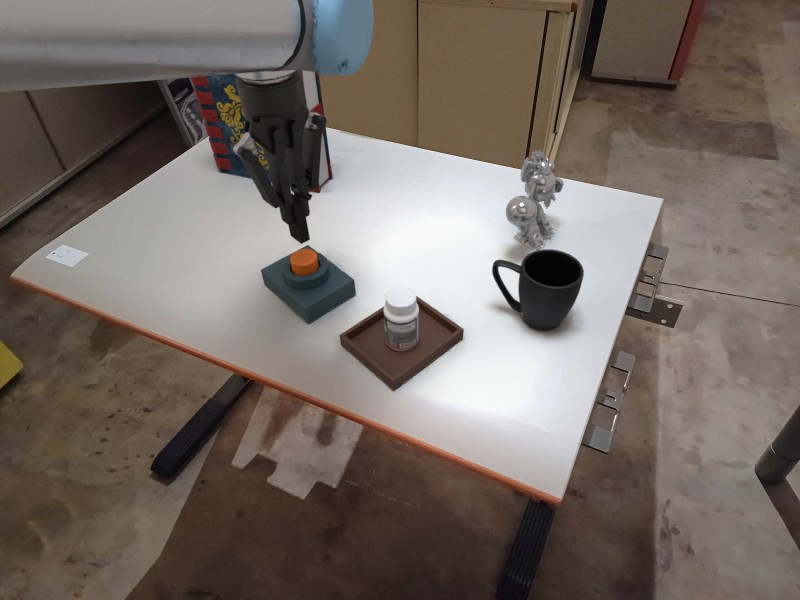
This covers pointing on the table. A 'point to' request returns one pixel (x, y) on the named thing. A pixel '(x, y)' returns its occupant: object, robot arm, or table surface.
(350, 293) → the console
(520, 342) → the table surface
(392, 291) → the pill bottle
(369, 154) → the table surface
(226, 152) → the book
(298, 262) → the console button
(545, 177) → the robot toy
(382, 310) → the tray
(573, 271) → the mug
